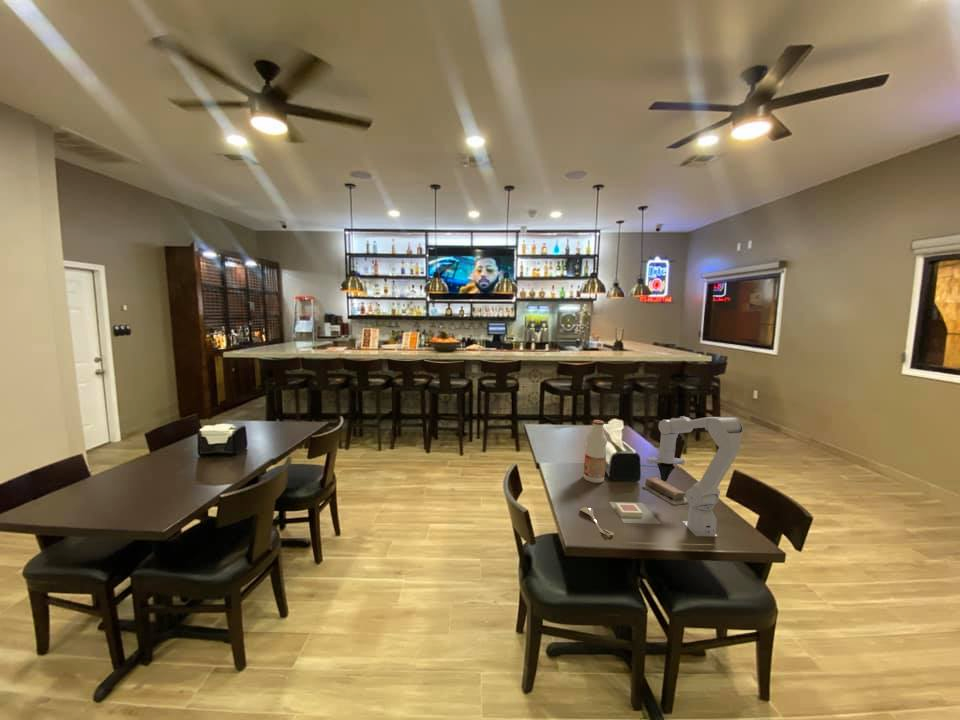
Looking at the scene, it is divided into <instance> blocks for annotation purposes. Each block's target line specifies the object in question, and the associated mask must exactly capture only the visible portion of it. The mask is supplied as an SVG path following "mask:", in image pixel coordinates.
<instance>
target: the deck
mask: <svg viewBox="0 0 960 720" xmlns="http://www.w3.org/2000/svg"><path fill="white" fill-rule="evenodd" d="M615 508H616V509H617V510H618V512H619V513H620V515H621V516H622V517H643V512H642V511H641V510H640V509H639V507H638V506H637V505H636V504H627V503H616V505H615Z"/></svg>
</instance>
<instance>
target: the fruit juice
mask: <svg viewBox="0 0 960 720" xmlns="http://www.w3.org/2000/svg"><path fill="white" fill-rule="evenodd" d="M592 425H593V426H592V428H591V431H590V432H589V433H588V434H587V436H586V447H585V452H584V465H583V473H582V475H583V478H584V480H585V481H586V482H590V483H593V484H594V483H595V484H599V483H602V482H604V480H605V474H606V463H607V461H606V460H607V448H606V446H607V445H608V438H607V436H606V434H605V431H604V425H605V422H604V421H603V420H600V419H593V420H592Z"/></svg>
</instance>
